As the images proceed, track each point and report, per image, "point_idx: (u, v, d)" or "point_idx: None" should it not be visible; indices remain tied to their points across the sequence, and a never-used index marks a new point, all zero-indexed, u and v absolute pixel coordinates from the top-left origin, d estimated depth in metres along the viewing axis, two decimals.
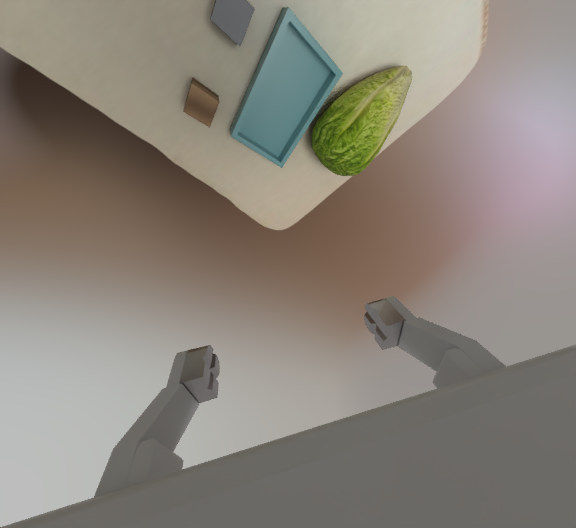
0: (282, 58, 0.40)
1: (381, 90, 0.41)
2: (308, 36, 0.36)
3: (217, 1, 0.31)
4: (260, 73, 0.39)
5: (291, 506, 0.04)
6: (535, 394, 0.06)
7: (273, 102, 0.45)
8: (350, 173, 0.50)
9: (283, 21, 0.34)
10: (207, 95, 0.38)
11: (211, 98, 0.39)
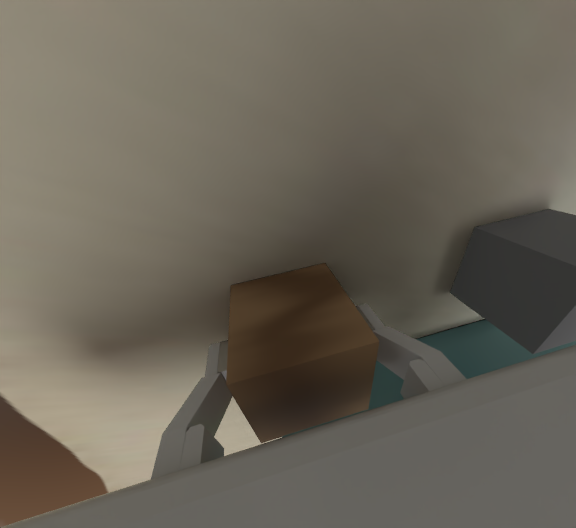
0: None
1: None
2: None
3: None
4: None
5: (291, 505, 0.04)
6: (535, 394, 0.06)
7: None
8: None
9: None
10: (367, 386, 0.08)
11: (365, 396, 0.09)
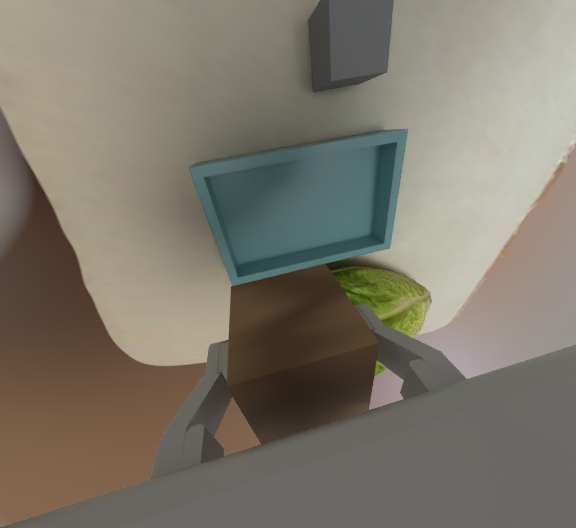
0: (345, 169, 0.25)
1: (419, 303, 0.29)
2: (396, 179, 0.24)
3: None
4: (319, 147, 0.20)
5: (291, 505, 0.04)
6: (535, 394, 0.06)
7: (294, 198, 0.25)
8: None
9: (392, 133, 0.21)
10: (367, 388, 0.08)
11: (365, 397, 0.09)
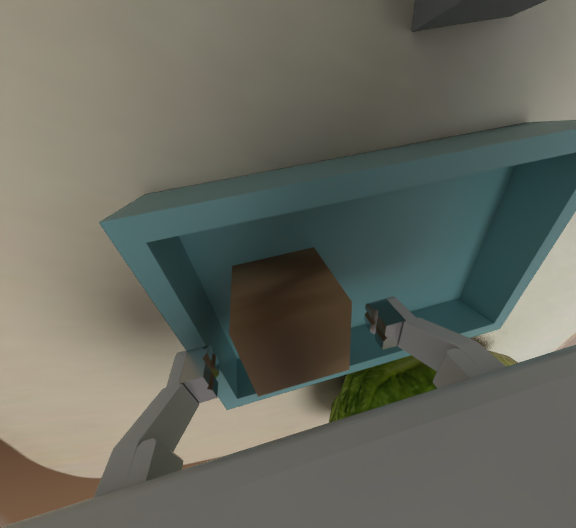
0: (447, 199, 0.13)
1: None
2: (562, 223, 0.11)
3: None
4: (438, 161, 0.08)
5: (290, 506, 0.04)
6: (535, 394, 0.06)
7: (344, 254, 0.13)
8: None
9: None
10: (346, 346, 0.10)
11: (345, 355, 0.10)
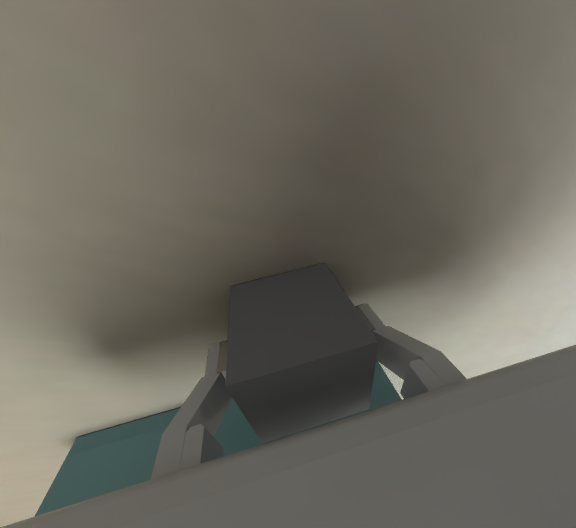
0: None
1: None
2: None
3: (299, 367, 0.07)
4: None
5: (291, 506, 0.04)
6: (535, 394, 0.06)
7: None
8: None
9: None
10: None
11: None
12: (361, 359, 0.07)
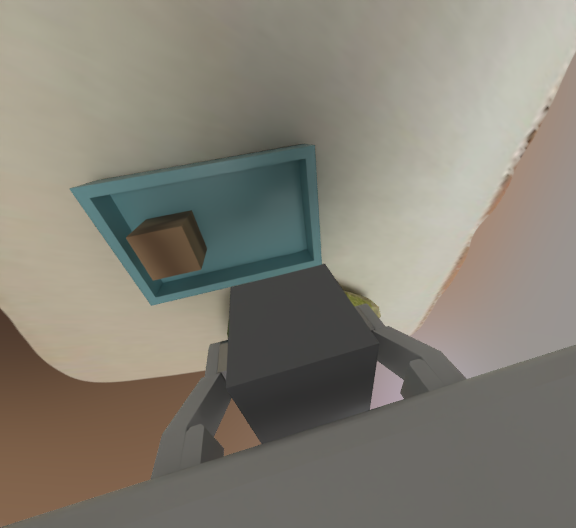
0: (264, 184, 0.24)
1: None
2: (313, 196, 0.22)
3: (300, 369, 0.07)
4: (216, 165, 0.19)
5: (291, 506, 0.04)
6: (535, 394, 0.06)
7: (212, 215, 0.24)
8: None
9: (297, 150, 0.20)
10: (191, 252, 0.21)
11: (193, 259, 0.21)
12: (361, 361, 0.07)
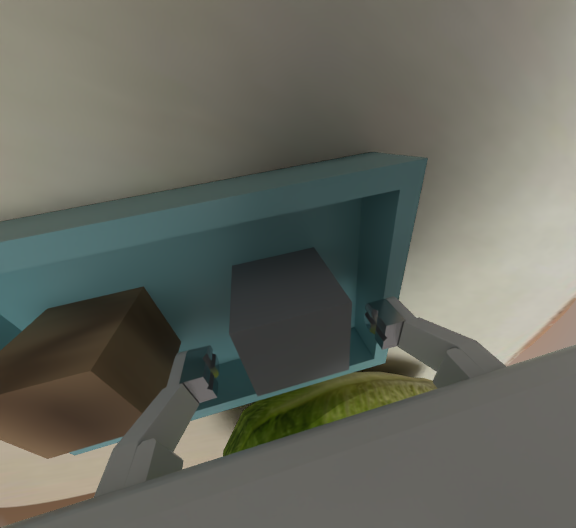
0: (290, 233, 0.12)
1: None
2: (398, 264, 0.11)
3: (288, 321, 0.08)
4: (180, 213, 0.07)
5: (291, 505, 0.04)
6: (535, 394, 0.06)
7: (186, 292, 0.12)
8: None
9: (386, 170, 0.08)
10: (128, 407, 0.09)
11: (137, 415, 0.09)
12: (338, 318, 0.09)
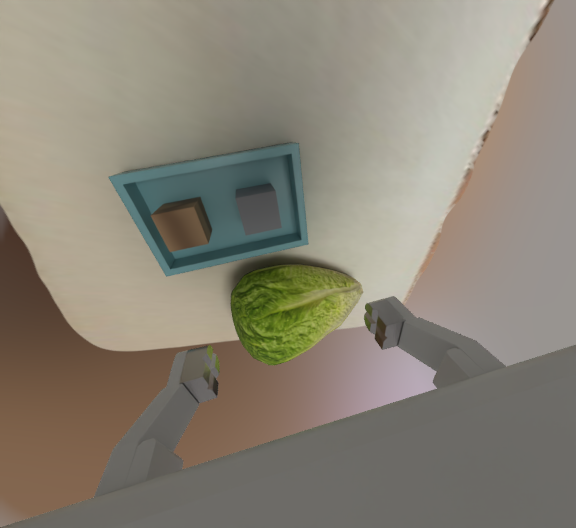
0: (259, 175, 0.29)
1: (336, 294, 0.33)
2: (299, 184, 0.28)
3: (254, 196, 0.25)
4: (221, 159, 0.24)
5: (291, 506, 0.04)
6: (535, 394, 0.06)
7: (216, 201, 0.29)
8: (259, 360, 0.32)
9: (285, 147, 0.25)
10: (200, 229, 0.26)
11: (202, 234, 0.26)
12: (272, 197, 0.26)
